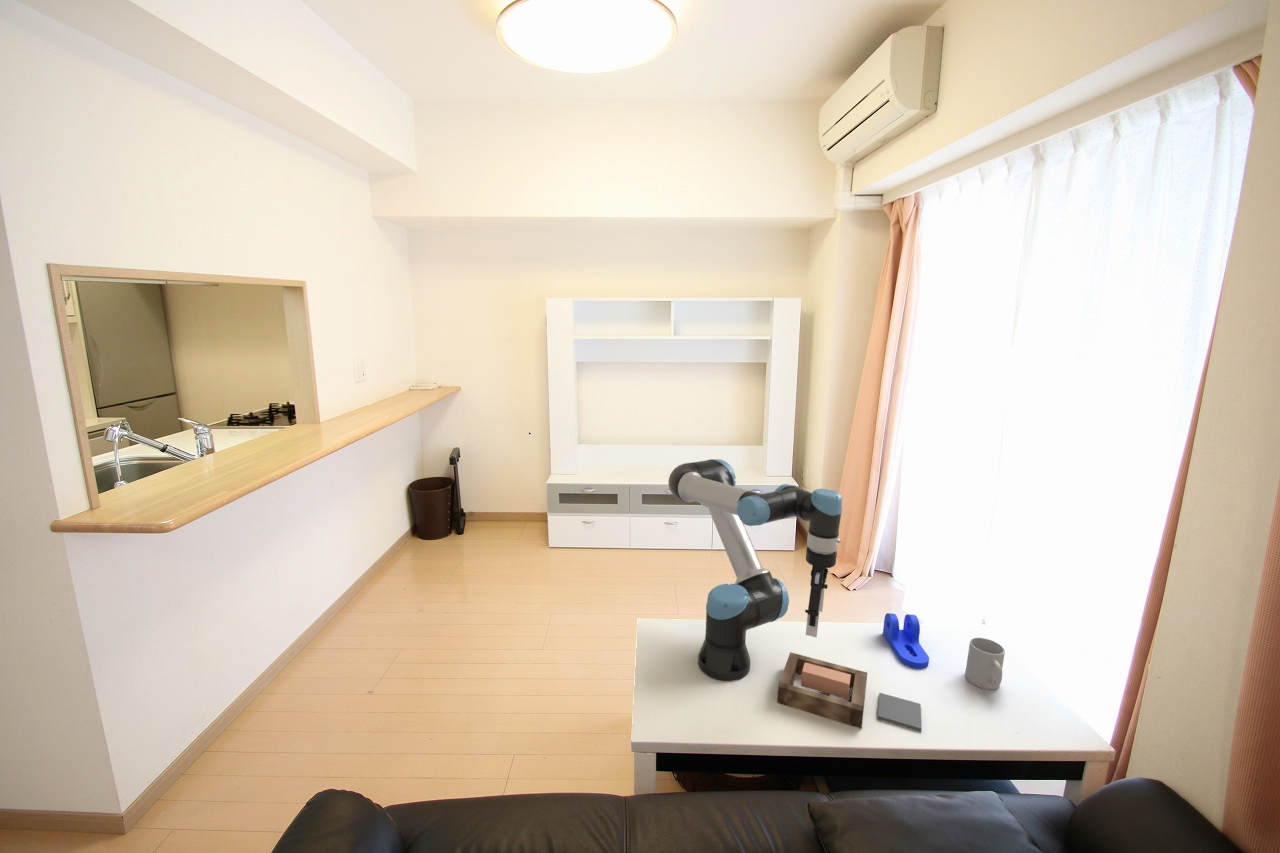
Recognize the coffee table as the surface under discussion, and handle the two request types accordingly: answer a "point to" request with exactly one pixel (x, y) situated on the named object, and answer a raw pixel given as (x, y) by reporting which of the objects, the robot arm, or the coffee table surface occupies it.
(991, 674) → the mug
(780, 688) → the brown wooden frame
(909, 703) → the rubber pad
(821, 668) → the terracotta block
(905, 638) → the bracket
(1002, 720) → the coffee table surface
